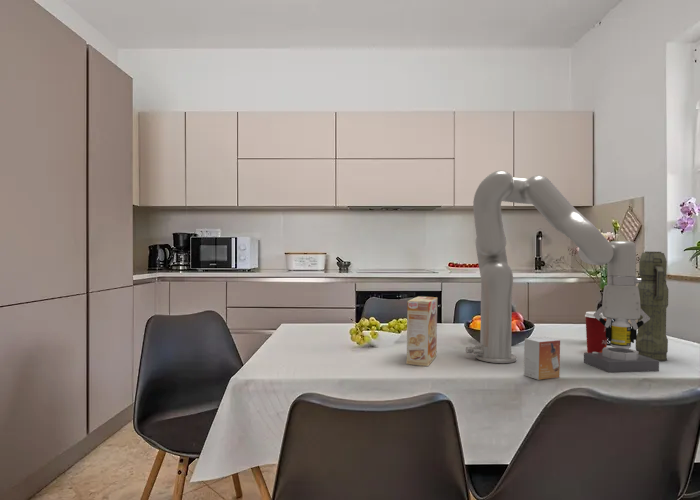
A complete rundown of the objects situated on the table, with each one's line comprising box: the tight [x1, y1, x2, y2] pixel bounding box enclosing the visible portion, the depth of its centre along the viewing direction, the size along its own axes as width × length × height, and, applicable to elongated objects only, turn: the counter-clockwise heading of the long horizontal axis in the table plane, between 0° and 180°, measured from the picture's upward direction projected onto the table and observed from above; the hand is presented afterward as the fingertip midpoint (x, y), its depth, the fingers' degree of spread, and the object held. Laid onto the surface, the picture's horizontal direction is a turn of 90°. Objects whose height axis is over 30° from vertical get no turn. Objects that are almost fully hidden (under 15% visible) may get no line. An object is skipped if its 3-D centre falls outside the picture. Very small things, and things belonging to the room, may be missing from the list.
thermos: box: [635, 251, 669, 363], centre depth 159 cm, size 9×12×35 cm
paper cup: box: [584, 311, 608, 353], centre depth 165 cm, size 8×8×14 cm
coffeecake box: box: [406, 295, 438, 367], centre depth 154 cm, size 15×7×20 cm, turn 160°
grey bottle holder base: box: [583, 346, 660, 373], centre depth 148 cm, size 16×12×5 cm
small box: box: [523, 336, 561, 381], centre depth 136 cm, size 8×6×10 cm
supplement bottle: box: [610, 318, 632, 349], centre depth 148 cm, size 5×5×10 cm
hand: (620, 340), depth 148 cm, fingers closed on supplement bottle, 5 cm apart
